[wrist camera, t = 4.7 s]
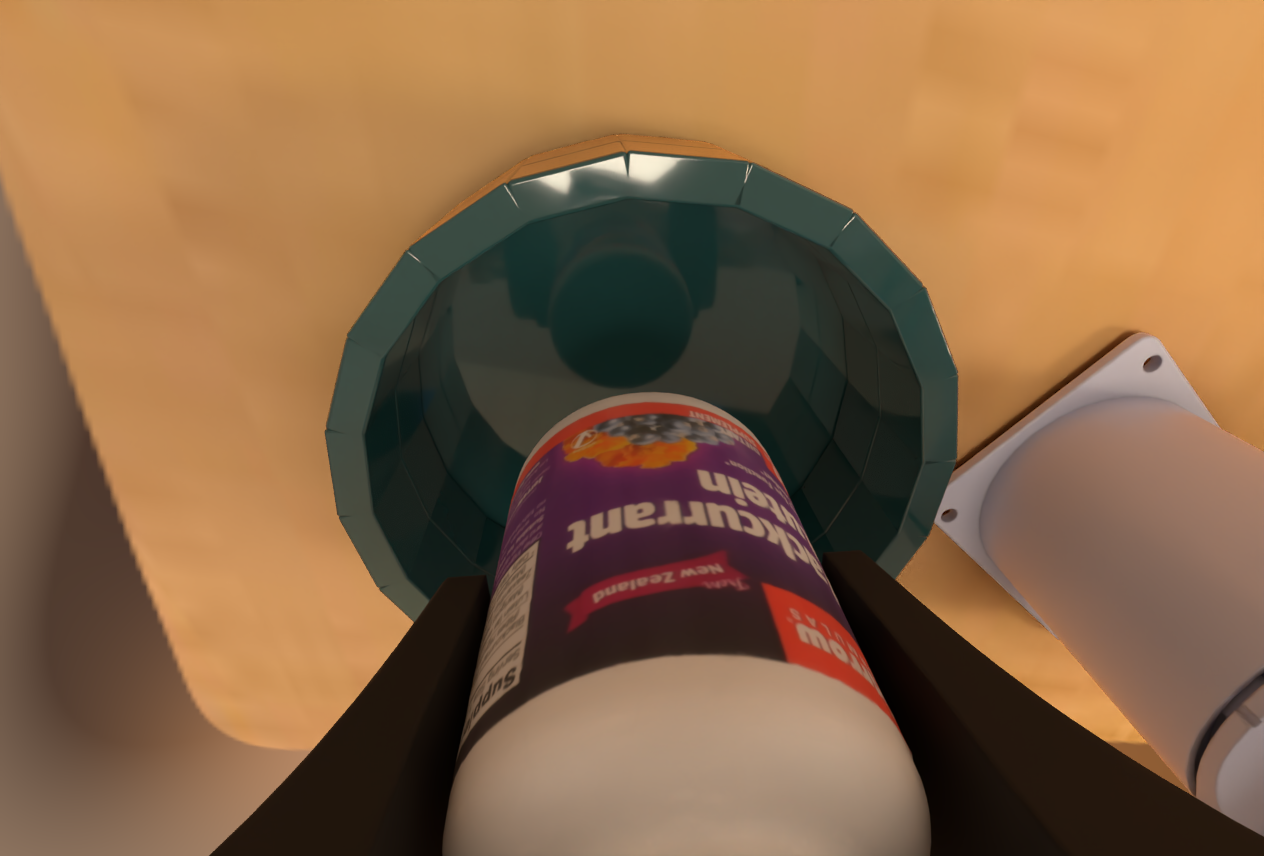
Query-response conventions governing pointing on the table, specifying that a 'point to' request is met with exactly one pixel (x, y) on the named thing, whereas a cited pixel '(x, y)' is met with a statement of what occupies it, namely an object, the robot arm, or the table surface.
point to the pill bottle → (671, 662)
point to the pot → (638, 352)
